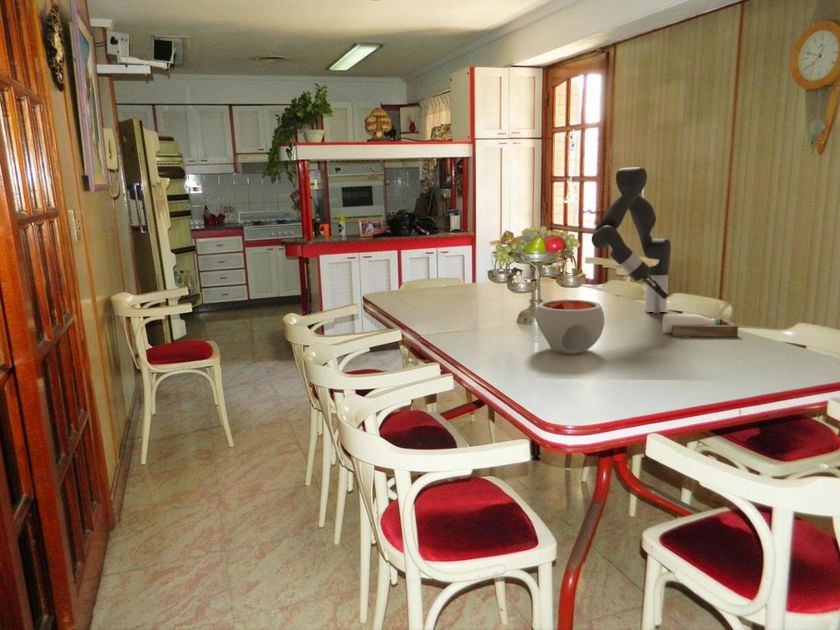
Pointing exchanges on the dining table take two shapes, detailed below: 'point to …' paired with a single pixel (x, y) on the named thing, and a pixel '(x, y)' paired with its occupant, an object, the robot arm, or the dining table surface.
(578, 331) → the pot
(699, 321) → the milk bottle
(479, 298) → the dining table surface
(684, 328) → the walnut U-rest
